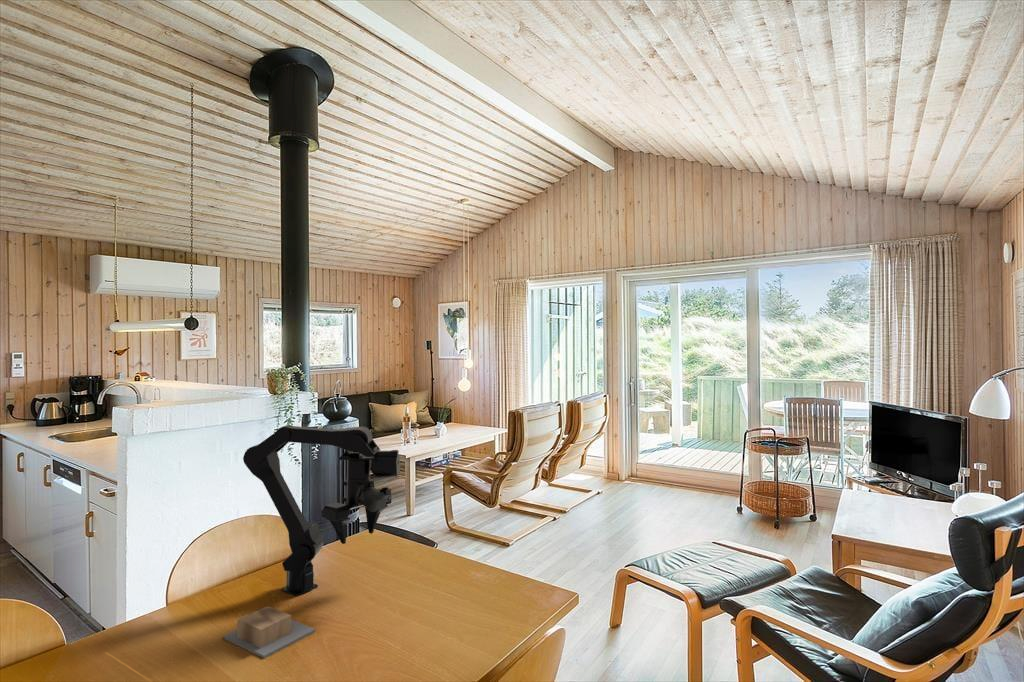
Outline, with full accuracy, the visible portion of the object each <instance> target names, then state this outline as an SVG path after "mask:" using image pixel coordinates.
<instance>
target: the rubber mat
mask: <svg viewBox="0 0 1024 682" xmlns="http://www.w3.org/2000/svg"><path fill="white" fill-rule="evenodd" d="M315 632H316V628H313V627H310V626H308V625H306V624H303V623H301V622H298V621H296V620H294V619H291V632H290V633H289V634H287V635H286V636H284V637H282V638H280V639H278V640H276V641H274V642H272V643H270V644H268V645H266V646H264V647H262V648H260V647H258V646H255V645H253V644H251V643H249V642H247V641H245V640H243V639H241V638H238V637H237V629H235V630H233V631H231V632H228V633H226V634H224V635H222V639H224V640H225V641H227V642H229V643H232V644H233V645H236V646H238V647H239V648H242V649H244V650H246V651H248V652H250V653H252V654H254V655H256V656H258V657H260V658H262V659H266V658H268V657H270V656H272V655H274V654H275V653H277V652H279V651H281V650H283V649H285V648H286V647H289V646H290V645H292V644H294V643H296V642H298V641H300V640H302V639H304V638H306V637H308V636H309V635H312V634H314V633H315Z"/></svg>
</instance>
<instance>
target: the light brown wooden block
mask: <svg viewBox="0 0 1024 682" xmlns="http://www.w3.org/2000/svg"><path fill="white" fill-rule="evenodd" d="M236 620H237V621H236V624H237V625H236V627H237V628H236V630H237V637H238V638H241V639H243V640H245V641H247V642H249V643H251V644H253V645H255V646H258V647H260V648H262V647H264V646H266V645H268V644H270V643H272V642H274V641H276V640H278V639H280V638H282V637H284V636H286V635H287V634H289V633H290V632H291V620H292V615H291V614H290V613H286V612H284V611H281V610H279V609H276V608H274V607H271V606H268V605H267V606H265V607H262V608H260V609H258V610H256V611H253V612H251V613H249V614H246V615H244V616H242V617H239V618H238V619H236Z"/></svg>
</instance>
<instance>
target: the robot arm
mask: <svg viewBox="0 0 1024 682" xmlns="http://www.w3.org/2000/svg"><path fill="white" fill-rule="evenodd" d="M289 443H295V444H296V443H297V444H298V443H299V444H309V445H310V444H312V445H322V446H324V445H325V446H332V447H336V448H339V449H341V450H344V453H342V455H340V456H339V457H338V460H339V461H346V462H347V463H346V464H347V465H346V471H347V472H346V480H343V483H342V485H343V486H345V487H346V496H344V497H342V502H344V503H341V502H336V501H334V502H331V503H328V504H324V505H323V506H322V508H321V518H325V520H326V521H329V522H330V523H331V525H332V527H333V528H334V530H335V533H336V535H337V537H338V539H339V542H340V543H341V545H342V544H343V545H346V543H347V532H348V531H347V526H348V523H349V521H350V520H351V517H349V516H350V514H351V511H354V510H357V509H360V508H364V509H365V514H366V515H365V516H366V518H365V519H366V524H367V530H368V533H369V534H374V531H375V528H376V525H377V522H378V520H379V517H380V515H381V512H383V511H384V510H385V509H386V508H388V507H389V505H390V504H392V491H391V490H392V489H391V488H390V487H389V486H384V487H381V488H375V482H374V480H372V479H371V473H372V475H375V478H398V477H399V476H400V473H401V460H400V453H399V452H400V451H399V449H392V450H381V448H380V447H379V446H378V444H377V443H376V442H375V440H374V438H373V433H372V431H371V430H370V429H369V427H366V426H354V427H345V428H337V429H333V428H324V427H323V428H321V427H309V426H308V427H307V426H297V425H291V424H287V425H284V426H281V427H279V428H277V430H276V431H275V432H273V434H271V435H270V436H269V437H267V438H265V439H264V440H263V441H261V442H260V443H258V444H255V445H253V446H251V447H248V448H247V449H246V450H245V452H244V454H243V457H242V460H243V463H244V465H245V466H246V468H247V469H248V470H249V471H250V472H251V474H252V475H253V476H254V477H256V478H257V479H259V480H260V481H261V482H262V483H263V484H262V485H263V486H264V488H265V489H266V491H267V493H268V495H269V497H270V499H271V501H272V502H273V505H274V507H275V508H276V511H277V513H278V514H279V516H280V518H281V520H282V522H283V524H284V526H285V529H287V531H288V543H289V547H290V551H291V554H290V555H289V556H288V557H287V558H285V560H284V561H283V562H282V567H283V570H284V572H286V585H284V586H283V587H281V588H280V591H282V592H284V593H287V594H290V595H291V596H295V597H298V596H301V595H303V594H305V593H308V592H310V591H312V590H314V589H316V588H318V587H319V585H318V584H317V583H315V581H314V576H315V575H314V574H315V573H314V564H313V562H312V561H313V560H314V559H315V558H316V556H317V555H318V554H319V552H320V551H321V550H322V549H323V545H324V538H323V537H325V536H324V535H325V534H323V533H322V531H321V530H320V528H319V527H320V526H319V524H318V522H314V523H312V524H311V523H310V522H309V521H307V519H306V518H305V517H304V514H303V513H302V511H301V508H300V507H299V505H298V503H297V500H296V499H295V497H294V496H293V494H292V492H291V490H290V487H289V486H288V484H287V482H286V479H284V476H283V474H282V472H281V464H280V461H281V460H280V458H279V453H278V452H280V451H281V450H282V449H284V448H285V446H286V445H287V444H289Z"/></svg>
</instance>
